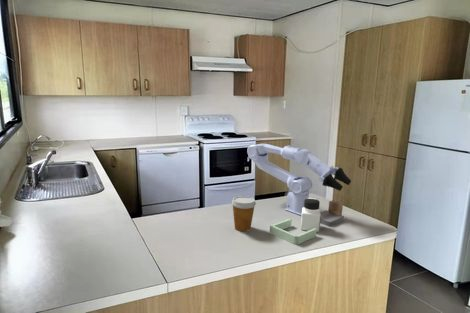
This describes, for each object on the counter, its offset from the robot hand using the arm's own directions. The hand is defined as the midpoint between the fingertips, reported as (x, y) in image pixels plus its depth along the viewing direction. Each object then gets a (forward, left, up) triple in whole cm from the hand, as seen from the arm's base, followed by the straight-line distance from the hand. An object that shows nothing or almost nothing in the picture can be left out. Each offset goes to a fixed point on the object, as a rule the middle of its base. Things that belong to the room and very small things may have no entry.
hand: (345, 185), depth 134 cm
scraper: (-6, -1, -17) cm, 18 cm away
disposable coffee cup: (-22, -37, -17) cm, 46 cm away
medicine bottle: (-6, -14, -17) cm, 23 cm away
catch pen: (-6, -25, -17) cm, 31 cm away
